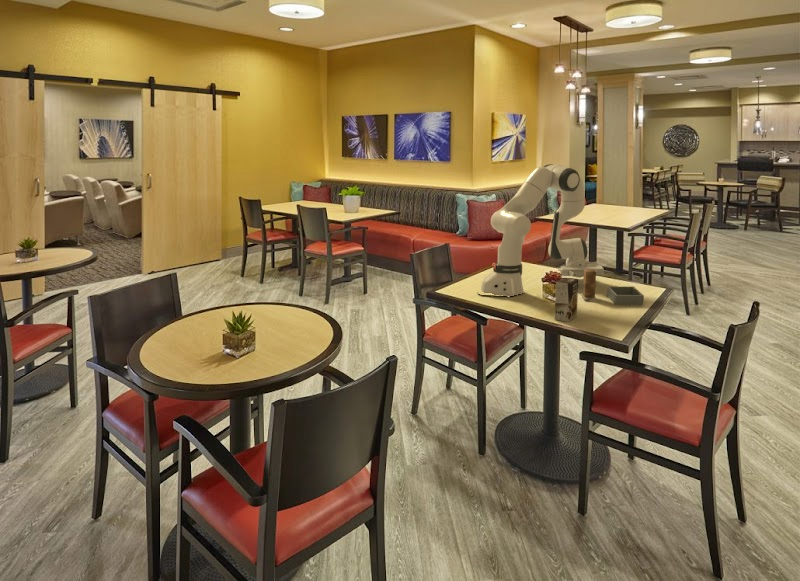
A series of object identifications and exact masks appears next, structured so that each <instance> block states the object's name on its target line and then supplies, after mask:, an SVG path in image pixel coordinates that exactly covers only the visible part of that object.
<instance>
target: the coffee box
mask: <svg viewBox="0 0 800 581" xmlns="http://www.w3.org/2000/svg"><path fill="white" fill-rule="evenodd" d="M579 279H580V278H576V277H575V278H574V277H562V278H560V279H558V280H557V281H556V282H555V299H554V302H555V303H554V318H553V319H554V320H556V321H560V322H561V321H562V322H566V321H567V322H566V323H569V322H571V321H572V320H573V319H575V318H576V317H577V316H578V315H577V314H578V296H579Z"/></svg>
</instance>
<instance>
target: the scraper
mask: <svg viewBox="0 0 800 581" xmlns="http://www.w3.org/2000/svg"><path fill="white" fill-rule="evenodd" d="M596 281H597V276H596V271H595V270H594V269H584V276H583V282H582V292H581V293H580V296H582V297H581V298H582V299H583V301H584V302H597V298H596V285H597V284H596Z"/></svg>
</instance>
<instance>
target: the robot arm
mask: <svg viewBox="0 0 800 581" xmlns="http://www.w3.org/2000/svg"><path fill="white" fill-rule="evenodd" d="M549 188H551V189H554V190H558V191H560V193H561V194H560V200H561V201H560V206H559V208H558V209H556V210H555V212H554V215H553V219H552V224H551V233H550V240H549V245H548V249H547V250H548V251H547V252H548V256H549V257H550V258H551V259H552V260H553V261H560V260H565V265H564V266H563V265H561V266H560V268H558V269H557V270H558V271H559V274H560V273H561V274H562V275H563V276H562V277H571V278H574V277H575V278H577V279H580V278H584V269H594V270H595V271H596V277H597V276H598V277H600V276H601V277H602V276H604V272H605V271H604V270H605V269H604V267H603V266H602V265H601V264H598V262H597V261H592V260H591V261H590V260H586V259H587V257H588V246H587V243H586V241H585V240H584V239H582V238H581V237H577V238H570V239H567V238H566V239H560V238H561V231H562V230H561V229H562V226H563V225H564V224H565V223H567V221H569V220H572V219H573V218H576V217H578V216H579V215H580V214H581V213H582V212H583V211H584V209H585V204H586V199H585V198H586V197H585V196H586V195H585V188H584V183H583V179H582V178H581V177H580V174H579V172H578V170H576V169H574V168H572V167H567V166H563V165H560V164H553V163H550V164H545V165H543V166H538V167H536V168H535V169H534V170H533V171H532V172H531V173H530V174H528V176H527V178H526V179H525V180H524V182H523V183H522V184H521V186H520V187H519V189H518V190H517V192H516V193H515V195H513V196H512V197H511V199H509V201H508V202H507V203H506V204H504V206H502V207H501V208H500V209H499V210H496V211H495V212H494V213H493V214H492V215H491V216H490V225H491V227H492V228H493V229H494V230H495V231H496V232H497V233H501V234H503V235H502V240H501V242H500V244H499V245H498V246H497V262H496V263H495V262H493V263H492V265H491V267H492V270H493V271H491V272H490V273H489V274H488V275H487V276H485V277H483V279H482V282H481V285H480V287H481V291H482V292H484V293H492V294H494V295H503V296H514V295H517V296H519V295H518V294H521V295H523V294H525V291H524V286H523V281H522V280H523V279H522V276H523V263H522V252H523V251H522V250H523V249H522V248H523V244H524V241H525V238H526V236H527V235H528V234H529V233H530V231H531V230H532V229H531V228H532V223H531V220H530V219H529V217H528V216H526V215H528V213H530V212H532V211H533V210H534V209H536V207H537V206H538V204H539V203H540V202H541V200H542V199H543V197H544V196H545V194H546V193H547V191H548V189H549ZM522 293H523V294H522ZM514 297H515V296H514Z"/></svg>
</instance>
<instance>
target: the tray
mask: <svg viewBox="0 0 800 581" xmlns="http://www.w3.org/2000/svg"><path fill="white" fill-rule="evenodd" d="M606 290H607V291H606V296H607V298H610V301H611V302H612V303H613V304H614V305H615V306H644V301H645V300H644V299H645V294H643V293H642V292H641V291H639V290H638V289H637V288H636V287H635V286H631V285H630V286H607V288H606Z"/></svg>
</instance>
